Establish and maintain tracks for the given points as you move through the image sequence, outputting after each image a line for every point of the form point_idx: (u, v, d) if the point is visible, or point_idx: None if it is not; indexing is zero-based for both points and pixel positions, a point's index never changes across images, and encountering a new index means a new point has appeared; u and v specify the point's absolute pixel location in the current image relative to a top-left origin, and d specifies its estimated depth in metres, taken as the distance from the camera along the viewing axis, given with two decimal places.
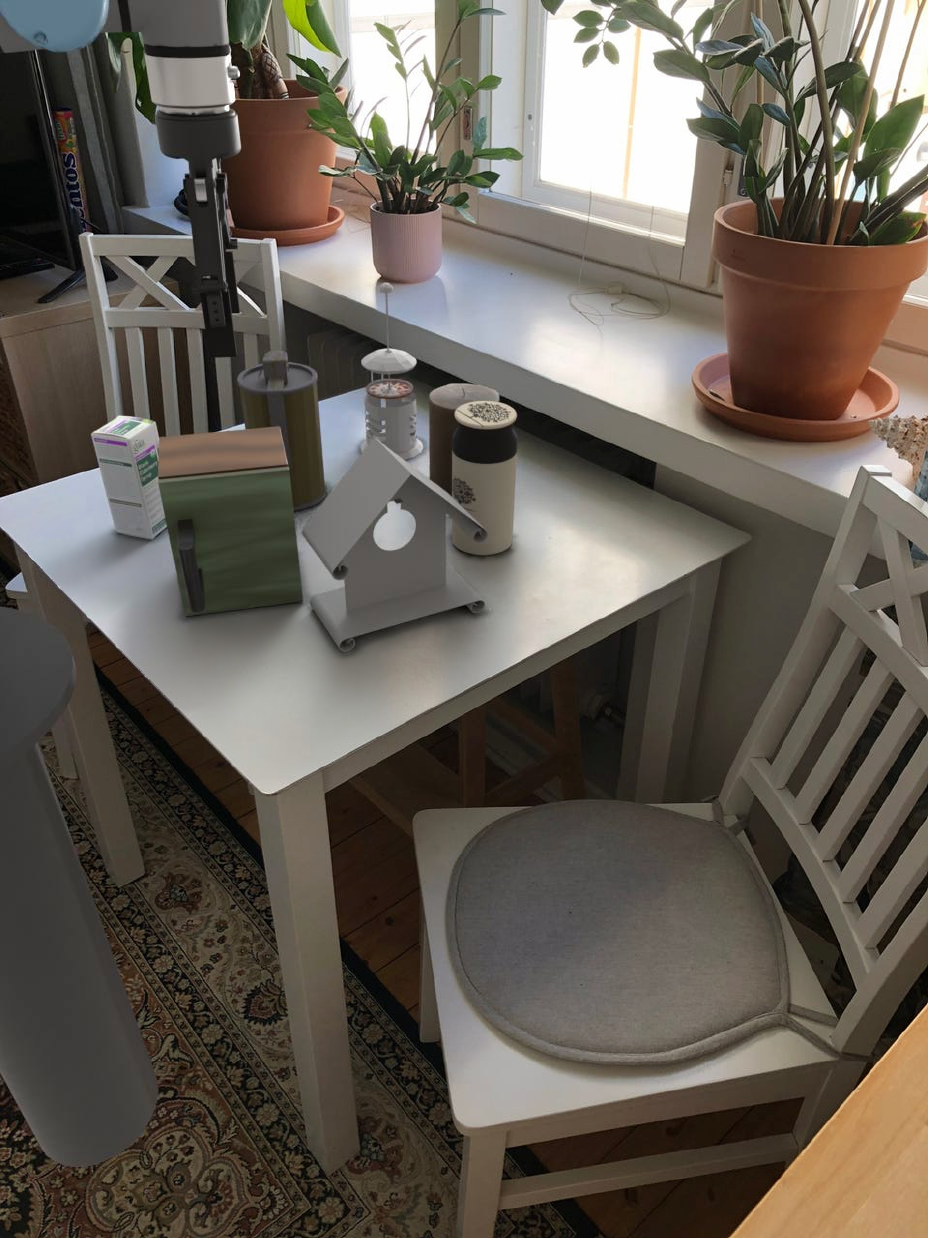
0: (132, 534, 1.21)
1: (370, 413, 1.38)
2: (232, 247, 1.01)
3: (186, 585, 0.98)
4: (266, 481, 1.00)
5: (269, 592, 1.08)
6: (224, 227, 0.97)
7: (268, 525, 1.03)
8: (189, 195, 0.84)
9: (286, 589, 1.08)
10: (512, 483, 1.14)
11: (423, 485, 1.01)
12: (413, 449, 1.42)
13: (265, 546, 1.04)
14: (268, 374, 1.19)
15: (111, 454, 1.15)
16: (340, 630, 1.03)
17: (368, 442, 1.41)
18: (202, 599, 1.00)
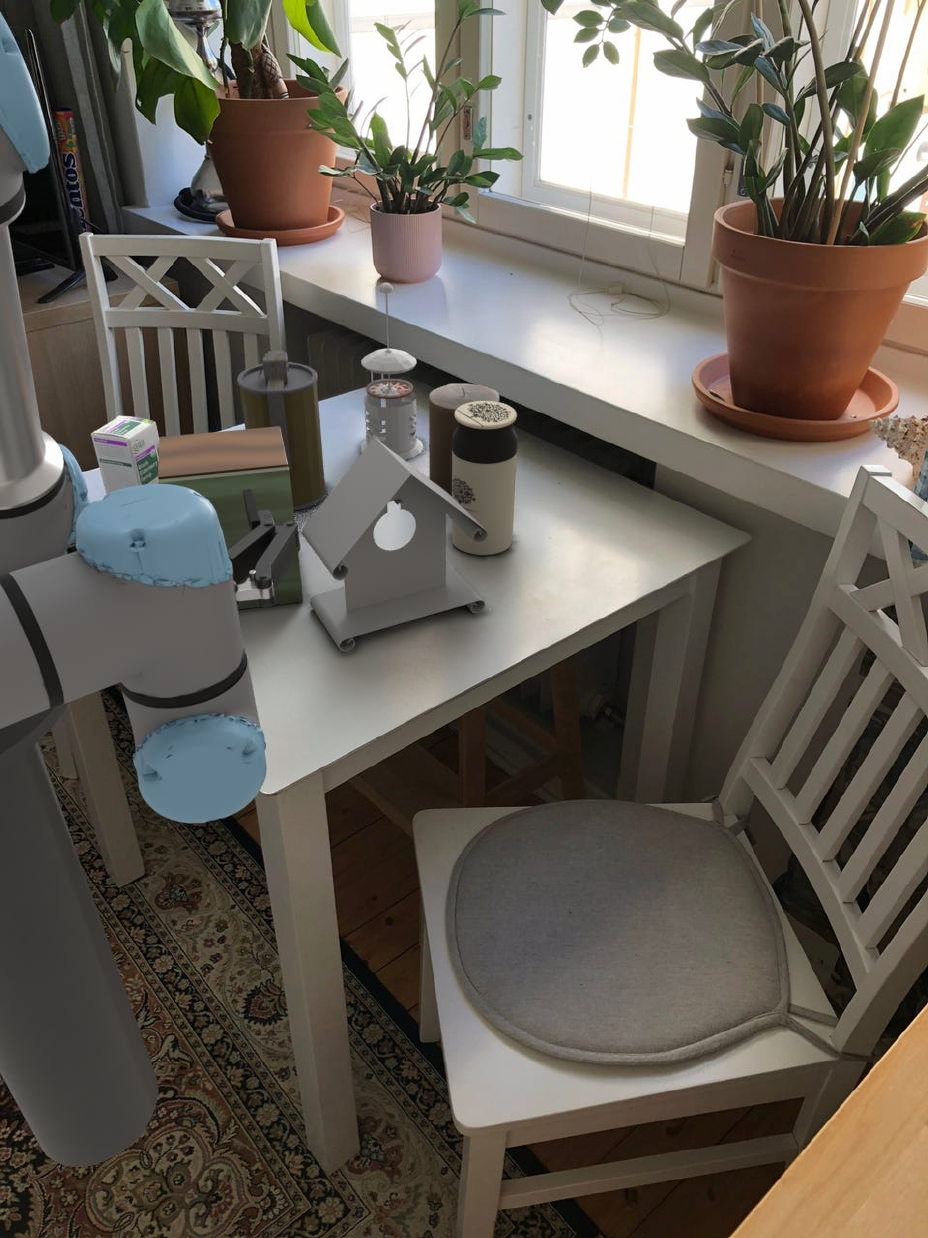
0: None
1: (370, 413, 1.38)
2: None
3: None
4: (266, 481, 1.00)
5: None
6: None
7: None
8: None
9: (286, 589, 1.08)
10: (512, 483, 1.14)
11: (423, 485, 1.01)
12: (413, 449, 1.42)
13: None
14: (268, 374, 1.19)
15: (111, 454, 1.15)
16: (340, 630, 1.03)
17: (368, 442, 1.41)
18: None
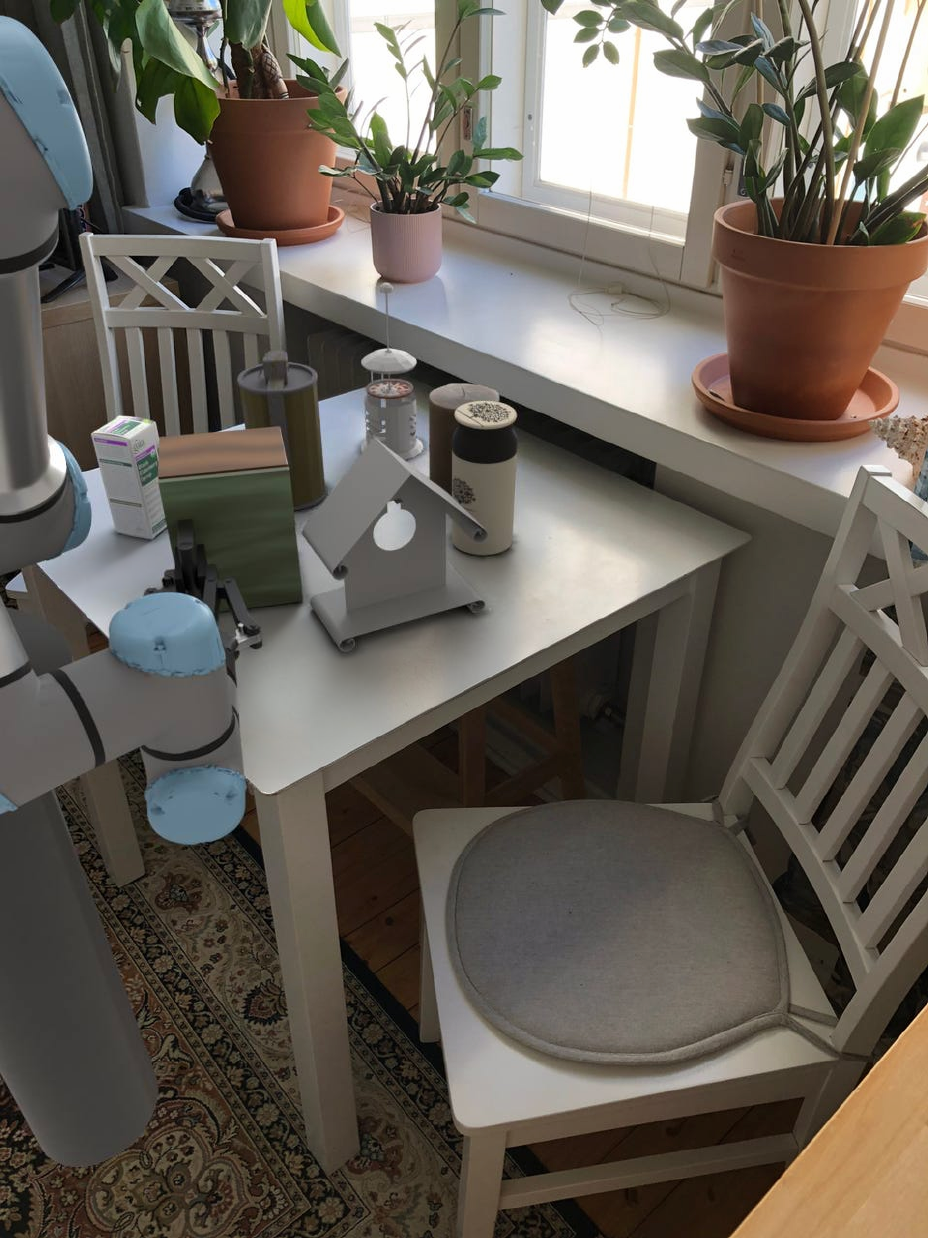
0: (132, 534, 1.21)
1: (370, 413, 1.38)
2: None
3: (186, 585, 0.98)
4: (266, 481, 1.00)
5: (269, 592, 1.08)
6: None
7: (268, 525, 1.03)
8: None
9: (286, 589, 1.08)
10: (512, 483, 1.14)
11: (423, 485, 1.01)
12: (413, 449, 1.42)
13: (265, 546, 1.04)
14: (268, 374, 1.19)
15: (111, 454, 1.15)
16: (340, 630, 1.03)
17: (368, 442, 1.41)
18: (202, 599, 1.00)
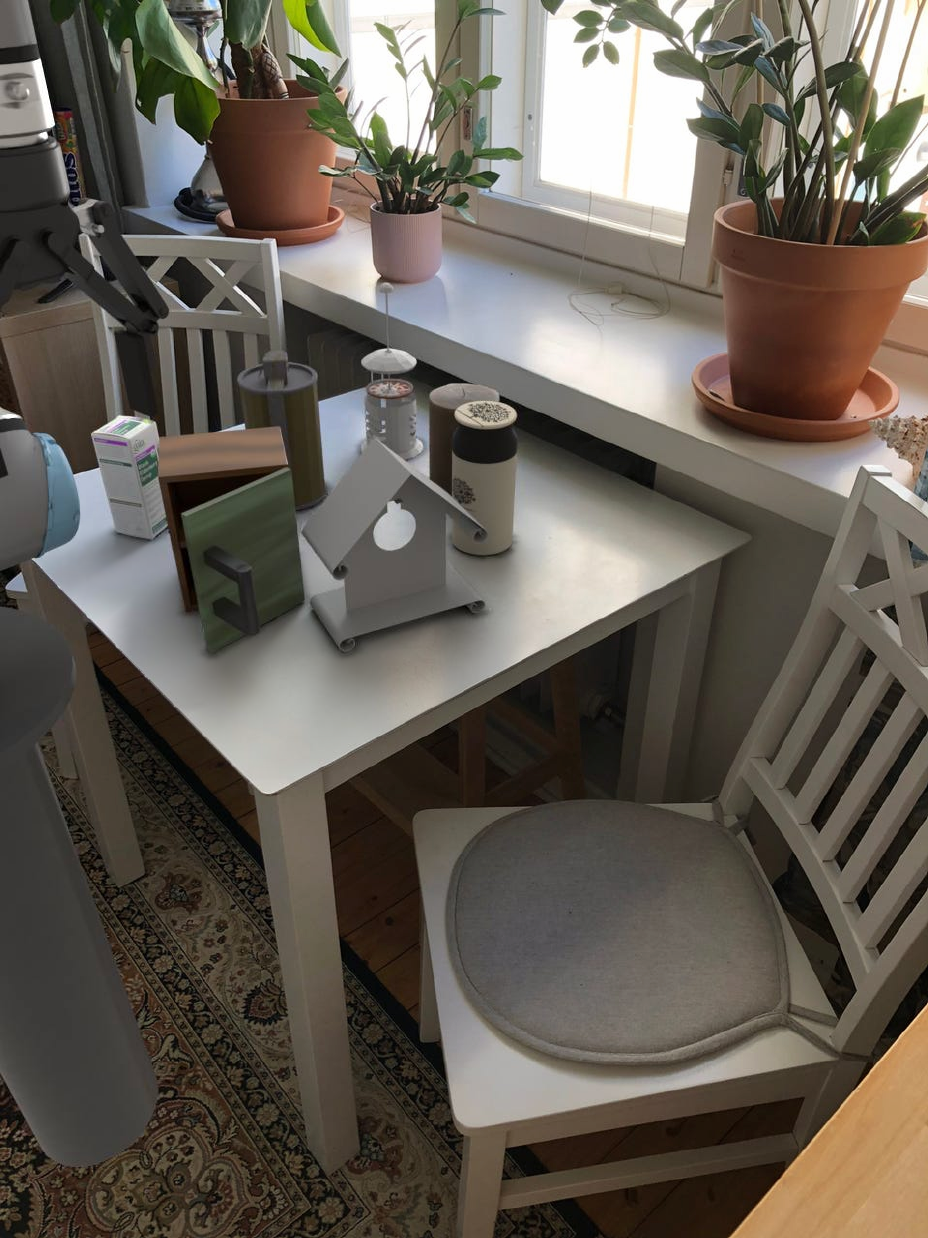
0: (132, 534, 1.21)
1: (370, 413, 1.38)
2: (145, 331, 0.73)
3: (246, 609, 0.95)
4: (274, 486, 0.99)
5: (279, 601, 1.07)
6: (108, 303, 0.70)
7: (276, 531, 1.02)
8: None
9: (292, 593, 1.08)
10: (512, 483, 1.14)
11: (423, 485, 1.01)
12: (413, 449, 1.42)
13: (274, 554, 1.03)
14: (268, 374, 1.19)
15: (111, 454, 1.15)
16: (340, 630, 1.03)
17: (368, 442, 1.41)
18: (258, 620, 0.97)
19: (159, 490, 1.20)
